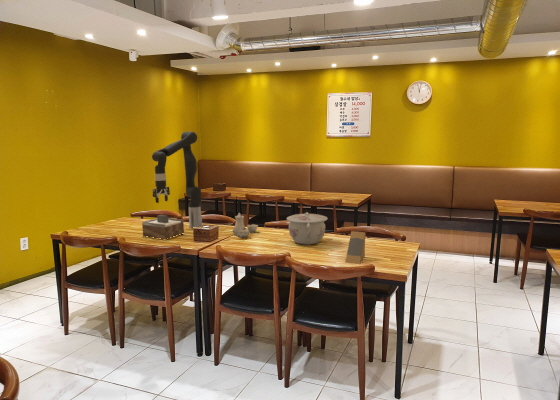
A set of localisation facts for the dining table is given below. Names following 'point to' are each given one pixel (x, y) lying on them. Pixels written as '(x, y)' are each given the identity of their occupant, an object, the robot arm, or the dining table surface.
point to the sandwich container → (356, 248)
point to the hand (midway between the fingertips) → (161, 202)
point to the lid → (165, 220)
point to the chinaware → (243, 227)
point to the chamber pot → (307, 228)
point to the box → (162, 229)
